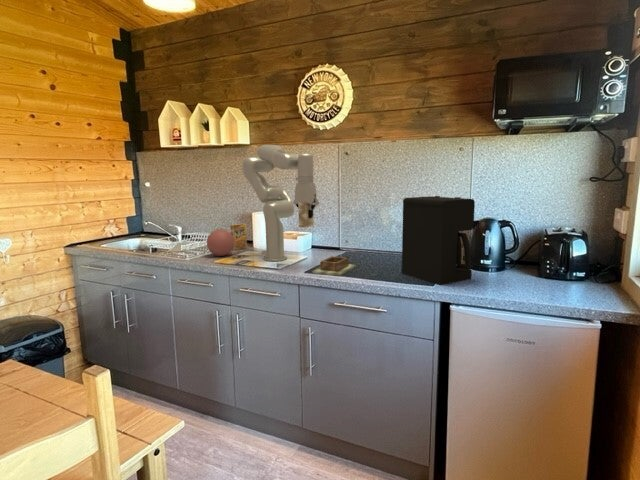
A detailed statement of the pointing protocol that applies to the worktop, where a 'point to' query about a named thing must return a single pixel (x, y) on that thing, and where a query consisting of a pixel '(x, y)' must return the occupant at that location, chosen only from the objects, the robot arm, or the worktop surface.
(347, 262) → the brown open box
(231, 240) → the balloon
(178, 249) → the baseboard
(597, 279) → the worktop surface
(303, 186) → the robot arm
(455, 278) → the coffee maker
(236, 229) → the candy box
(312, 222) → the tan mottled block
